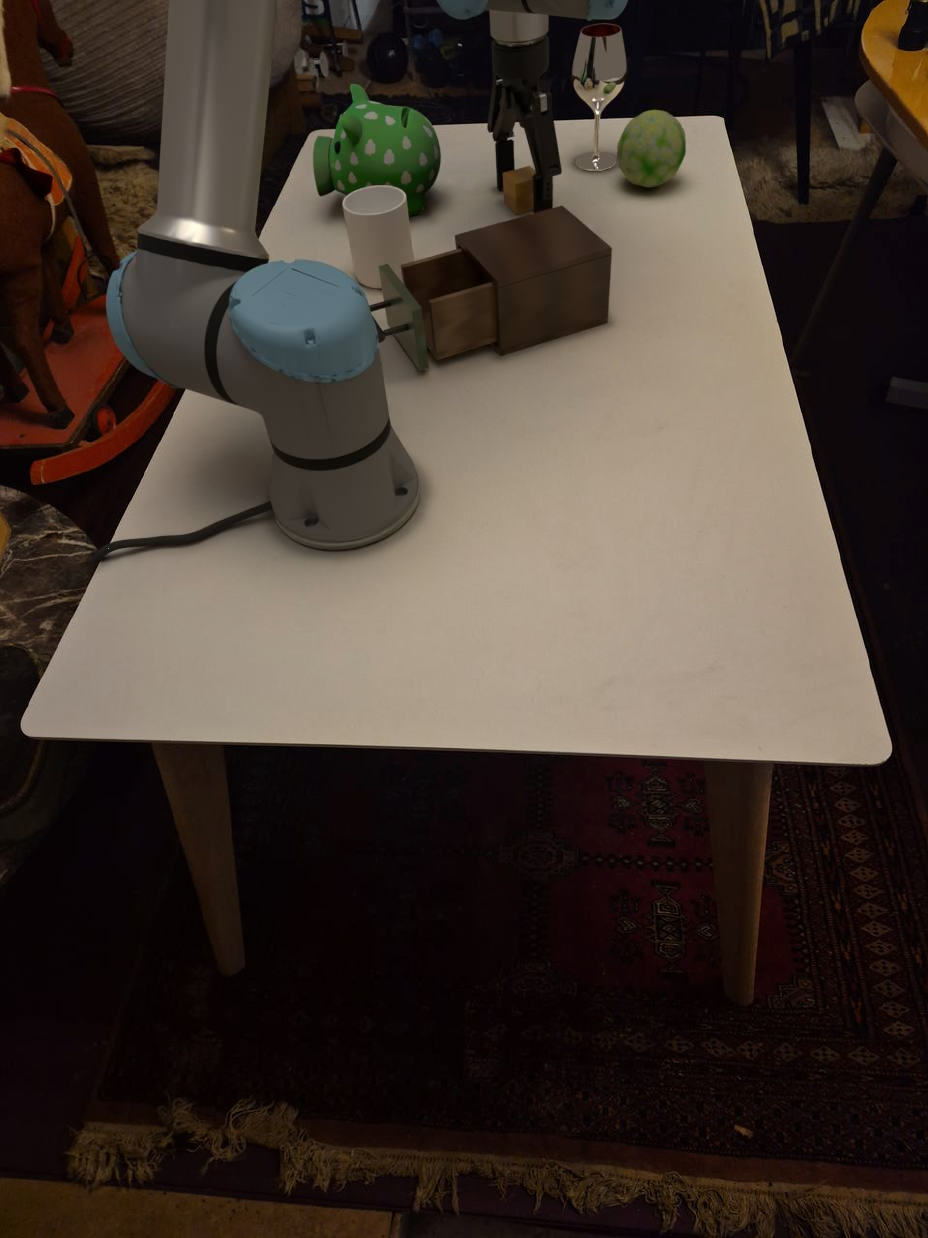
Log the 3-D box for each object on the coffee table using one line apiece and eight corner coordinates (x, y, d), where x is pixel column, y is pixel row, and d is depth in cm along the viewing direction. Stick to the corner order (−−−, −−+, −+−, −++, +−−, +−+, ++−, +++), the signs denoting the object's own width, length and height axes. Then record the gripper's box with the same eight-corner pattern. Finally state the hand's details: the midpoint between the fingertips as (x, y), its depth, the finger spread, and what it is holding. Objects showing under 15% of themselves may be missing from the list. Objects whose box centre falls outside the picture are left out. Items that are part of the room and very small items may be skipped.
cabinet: (500, 355, 103) (497, 281, 96) (460, 307, 111) (454, 234, 104) (607, 322, 106) (612, 247, 99) (561, 277, 114) (562, 204, 107)
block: (516, 214, 126) (515, 183, 123) (503, 202, 129) (502, 172, 126) (543, 207, 127) (542, 176, 124) (530, 195, 130) (529, 165, 127)
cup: (348, 288, 116) (334, 213, 108) (371, 245, 124) (359, 172, 116) (407, 290, 115) (397, 214, 107) (427, 246, 122) (419, 172, 114)
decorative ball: (684, 197, 126) (693, 124, 118) (616, 200, 127) (620, 127, 119) (679, 168, 132) (687, 96, 124) (613, 171, 133) (617, 100, 125)
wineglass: (607, 177, 132) (614, 42, 118) (560, 168, 135) (561, 36, 121) (630, 156, 136) (639, 23, 122) (583, 148, 139) (587, 18, 126)
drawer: (385, 381, 100) (375, 321, 94) (355, 334, 107) (343, 275, 101) (523, 339, 104) (521, 278, 98) (485, 296, 111) (481, 237, 105)
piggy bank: (334, 188, 137) (315, 83, 125) (447, 181, 135) (438, 74, 124) (321, 231, 128) (299, 122, 116) (442, 224, 126) (431, 113, 115)
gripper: (590, 57, 105) (585, 230, 121) (506, 6, 120) (512, 167, 136) (534, 70, 103) (537, 244, 120) (457, 18, 118) (469, 178, 135)
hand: (524, 203), depth 128 cm, fingers open, 12 cm apart
